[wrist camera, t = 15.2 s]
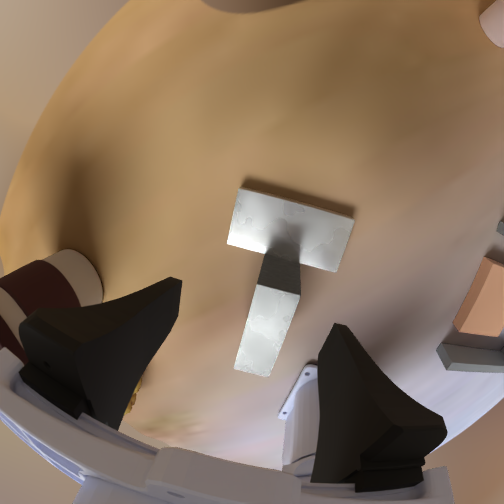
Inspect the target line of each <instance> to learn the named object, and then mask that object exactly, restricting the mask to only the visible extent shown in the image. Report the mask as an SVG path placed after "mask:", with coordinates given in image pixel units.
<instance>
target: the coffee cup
mask: <svg viewBox="0 0 504 504" xmlns="http://www.w3.org/2000/svg"><path fill="white" fill-rule="evenodd" d="M102 298H103V290H102V285H101V281H100V278H99V276H98V274H97V272H96V270H95V269H94V267H93V266H92V264H91V263H90V262H89V261H88V259H86V258H85V257H84V256H83V255H82V254H80V253H79V252H77V251H74V250H71V249H65V250H61V251H59V252H57V253H55V254H53V255H51V256H49V257H47V258H45V259H42V260H36V261H33V262H31V263H29V264H27V265H25V266H23V267H21V268H19V269H17V270H15V271H13V272H11V273H9V274H8V275H6V276H4V277H2V278H0V350H2V349H3V348H4V347H6V348H7V349H8V350H9V351H10V352H12V353H13V354H14V355H15V356H16V357H18V358H19V359H20V360H21V361H22V363H23V364H24V366H25V365H26V364H27V362H28V361H29V360H28V358H27V356H26V353H25V351H24V348H23V346H22V343H21V340H20V337H19V330H18V327H19V324H20V323H21V322H22V321H23V320H25V319H26V318H27V317H28V316H29V315H31V314H32V313H33V312H34V311H35V310H37V309H38V308H74V307H83V306H89V305H94V304H100V303H102Z"/></svg>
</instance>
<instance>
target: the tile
mask: <svg viewBox="0 0 504 504" xmlns="http://www.w3.org/2000/svg"><path fill="white" fill-rule="evenodd" d="M453 324H454V325H455V327H456V328H457V330H458V331H459V332H463V333H471V334H478V335H486V336H494V337H498V336H499V334H500V332H501V331H502V329H503V327H504V264H502V263H499V262H497V261H494V260H492V259H490V258H487V257H485V256H484V257H483V260H482V262H481V265H480V267H479V270H478V272H477V274H476V277H475V279H474V281H473V283H472V286H471V288H470V290H469V292H468V294H467V296H466V298H465V300H464V302H463V304H462V306H461V308H460V310H459V312H458V314H457V315H456V317H455V319H454V321H453Z"/></svg>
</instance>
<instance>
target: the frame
mask: <svg viewBox="0 0 504 504" xmlns="http://www.w3.org/2000/svg"><path fill="white" fill-rule="evenodd" d="M497 232H499V233H500V234H502V235H504V223H503V222H501V221H500V222H499V225H498V228H497ZM436 351H437V353H438V355H439V357H440V359H441V361H442V363H443V365H444V367H445V369H446V370H450V371H465V372H489V373H504V347H503V348H502V350H501V351H494V350H486V349H479V348H471V347H465V346H458V345H451V344H445V343H441V344H440V345H439V347H438V348H437V350H436Z"/></svg>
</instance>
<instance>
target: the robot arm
mask: <svg viewBox="0 0 504 504" xmlns="http://www.w3.org/2000/svg"><path fill="white" fill-rule="evenodd" d="M181 288H182V280H179V279H176V278H173V277H168V278H166V279H164V280H162V281H159V282H157V283H155V284H153V285H151V286H149V287H146V288H144V289H142V290H140V291H137V292H134V293H132V294H129V295H127V296H124V297H121V298H118V299H115V300H112V301H108V302H104V303H100V304H94V305H89V306H83V307H74V308H38V309H37V310H35V311H34V312H33V313H32V314H31V315H29V316H28V317H27V318H26V319H25V320H23V321H22V322H21V323H20V324H19V327H18V330H19V337H20V340H21V343H22V346H23V348H24V351H25V353H26V356H27V358H28V360H29V361H28V362H27V364H26V365H25V366H24V364H23V363H22V361H21V360H20V359H19V358H18V357H16V356H15V355H14V354H13V353H12V352H10V351H9V350H8V349H7V348H6V347H4V348H3V349H2V350H0V420H1V421H2V422H3V423H4V424H6V425H7V426H8V427H9V428H10V429H11V430H12V431H13V432H14V433H15V434H16V435H17V436H18V437H19V438H20V439H22V440H23V441H24V442H25V443H26V444H27V445H28V446H30V447H31V448H32V449H33V450H35V451H36V452H37V453H38V454H39V455H41V456H42V457H43V458H44V459H46V460H47V461H48V462H49V463H51V464H52V465H53V466H55V467H56V468H58V469H59V470H61V471H62V472H63V473H65V474H66V475H68V476H69V477H70V478H72V479H74V480H75V481H77V482H78V483H80V484H81V485H82V486H81V488H80V490H79V492H78V494H77V496H76V497H75V500H74V501H73V503H72V504H455V503H454V498H453V492H452V488H451V483H450V479H449V475H448V470H447V467H446V466H443V467H438V468H432V469H428V470H426V471H423V472H422V468H421V466H423V465H425V459H424V457H425V456H426V455H428V454H429V453H430V452H431V451H433V450H434V449H435V448H436V447H438V446H439V445H440V444H441V443H442V442H443V441H444V439H445V438H446V436H447V433H448V432H447V429H446V426H445V423H444V420H443V417H442V416H440V415H438V414H436V413H435V412H433V411H431V410H429V409H427V408H426V407H424V406H422V405H421V404H419V403H418V402H416V401H415V400H414V399H412V398H411V397H410V396H408V395H407V394H406V393H405V392H403V391H402V390H401V389H400V388H399V387H397V386H396V385H395V384H394V383H393V382H392V381H391V380H390V379H389V378H388V377H387V376H386V375H385V374H384V373H383V372H382V371H381V369H380V368H379V367H378V366H377V365H376V364H375V362H374V361H373V360H372V359H371V357H370V356H369V355H368V354H367V352H366V351H365V350H364V348H363V347H362V345H361V344H360V343H359V341H358V340H357V339H356V337H355V336H354V335H353V333H352V332H351V331H350V329H349V328H348V327H347V326H346V325H342V324H337V323H334V325H333V327H332V329H331V331H330V333H329V335H328V337H327V339H326V341H325V343H324V345H323V347H322V349H321V350H320V352H319V354H318V366H316V365H311V364H308V365H306V366H305V367H304V368H303V370H302V372H301V374H300V376H299V378H298V380H297V382H296V383H295V385H294V387H293V389H292V391H291V393H290V394H289V396H288V398H287V400H286V401H285V403H284V405H283V407H282V408H281V410H280V412H279V414H278V418H279V419H281V420H286V423H285V435H284V445H283V456H282V463H283V468H282V471H279V470H274V469H268V468H262V467H256V466H251V465H246V464H241V463H236V462H232V461H228V460H224V459H220V458H216V457H212V456H209V455H205V454H202V453H198V452H195V451H191V450H187V449H182V448H178V447H165V448H161V449H157V448H155V447H152V446H150V445H147V444H145V443H143V442H140V441H138V440H136V439H134V438H131V437H129V436H127V435H125V434H122V433H120V432H119V431H118V429H119V426H120V423H121V421H122V418H123V416H124V414H125V411H126V409H127V406H128V404H129V402H130V399H131V397H132V395H133V393H134V391H135V389H136V386H137V384H138V382H139V380H140V378H141V376H142V374H143V372H144V371H145V369H146V367H147V366H148V364H149V362H150V361H151V359H152V358H153V357H154V355H155V354H156V352H157V351H158V349H159V348H160V346H161V345H162V343H163V342H164V340H165V339H166V337H167V336H168V334H169V333H170V331H171V329H172V327H173V325H174V323H175V321H176V319H177V317H178V313H179V304H180V296H181ZM306 372H309V373H306Z"/></svg>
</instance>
